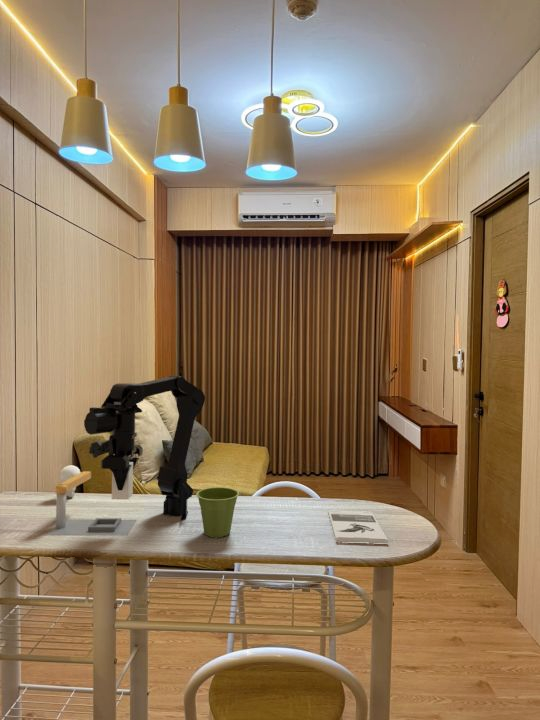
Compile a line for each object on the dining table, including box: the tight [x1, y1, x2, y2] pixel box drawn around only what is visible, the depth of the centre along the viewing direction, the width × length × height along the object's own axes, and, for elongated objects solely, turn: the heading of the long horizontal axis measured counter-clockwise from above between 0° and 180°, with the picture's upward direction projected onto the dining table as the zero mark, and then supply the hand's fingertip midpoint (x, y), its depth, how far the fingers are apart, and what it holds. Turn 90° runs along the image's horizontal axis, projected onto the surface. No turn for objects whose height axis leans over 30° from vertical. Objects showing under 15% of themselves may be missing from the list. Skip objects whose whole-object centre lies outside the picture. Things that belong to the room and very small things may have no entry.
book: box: [327, 509, 389, 543], centre depth 137 cm, size 23×14×2 cm, turn 178°
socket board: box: [46, 493, 138, 536], centre depth 130 cm, size 21×12×10 cm, turn 94°
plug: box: [111, 462, 134, 500], centre depth 127 cm, size 4×4×9 cm
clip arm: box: [55, 470, 92, 495], centre depth 137 cm, size 18×3×2 cm, turn 177°
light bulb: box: [59, 464, 81, 499], centre depth 159 cm, size 7×7×11 cm
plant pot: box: [195, 486, 240, 538], centre depth 130 cm, size 12×12×11 cm
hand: (122, 487), depth 127 cm, fingers closed on plug, 4 cm apart
